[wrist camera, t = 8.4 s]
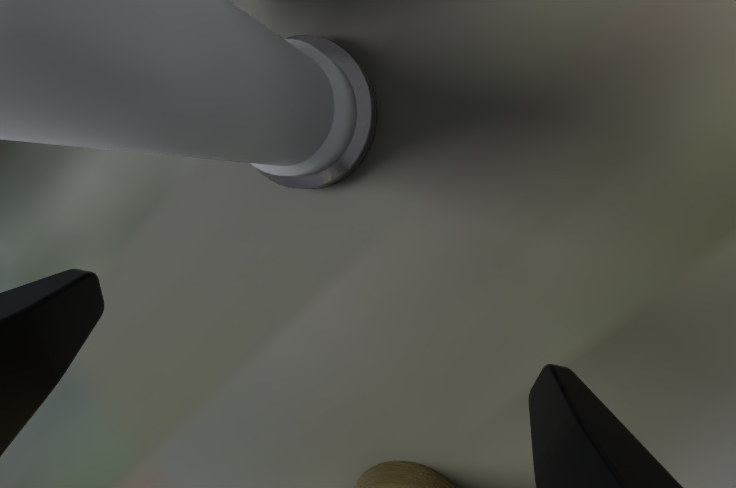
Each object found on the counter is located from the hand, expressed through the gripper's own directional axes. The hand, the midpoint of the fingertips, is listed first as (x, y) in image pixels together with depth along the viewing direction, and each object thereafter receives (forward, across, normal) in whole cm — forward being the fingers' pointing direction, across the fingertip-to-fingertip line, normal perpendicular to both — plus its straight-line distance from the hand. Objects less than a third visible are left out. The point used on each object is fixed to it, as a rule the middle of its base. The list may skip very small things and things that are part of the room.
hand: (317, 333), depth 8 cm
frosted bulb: (+12, +4, -1) cm, 13 cm away
